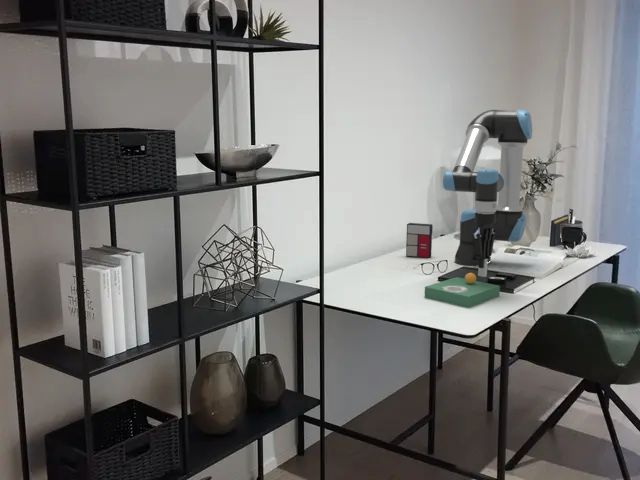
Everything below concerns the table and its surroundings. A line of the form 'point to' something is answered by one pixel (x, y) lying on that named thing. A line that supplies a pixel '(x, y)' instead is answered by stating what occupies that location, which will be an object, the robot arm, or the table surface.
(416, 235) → the grey and red block
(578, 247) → the lotus flower
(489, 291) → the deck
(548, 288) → the table surface
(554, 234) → the dark blue book
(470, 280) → the ball
